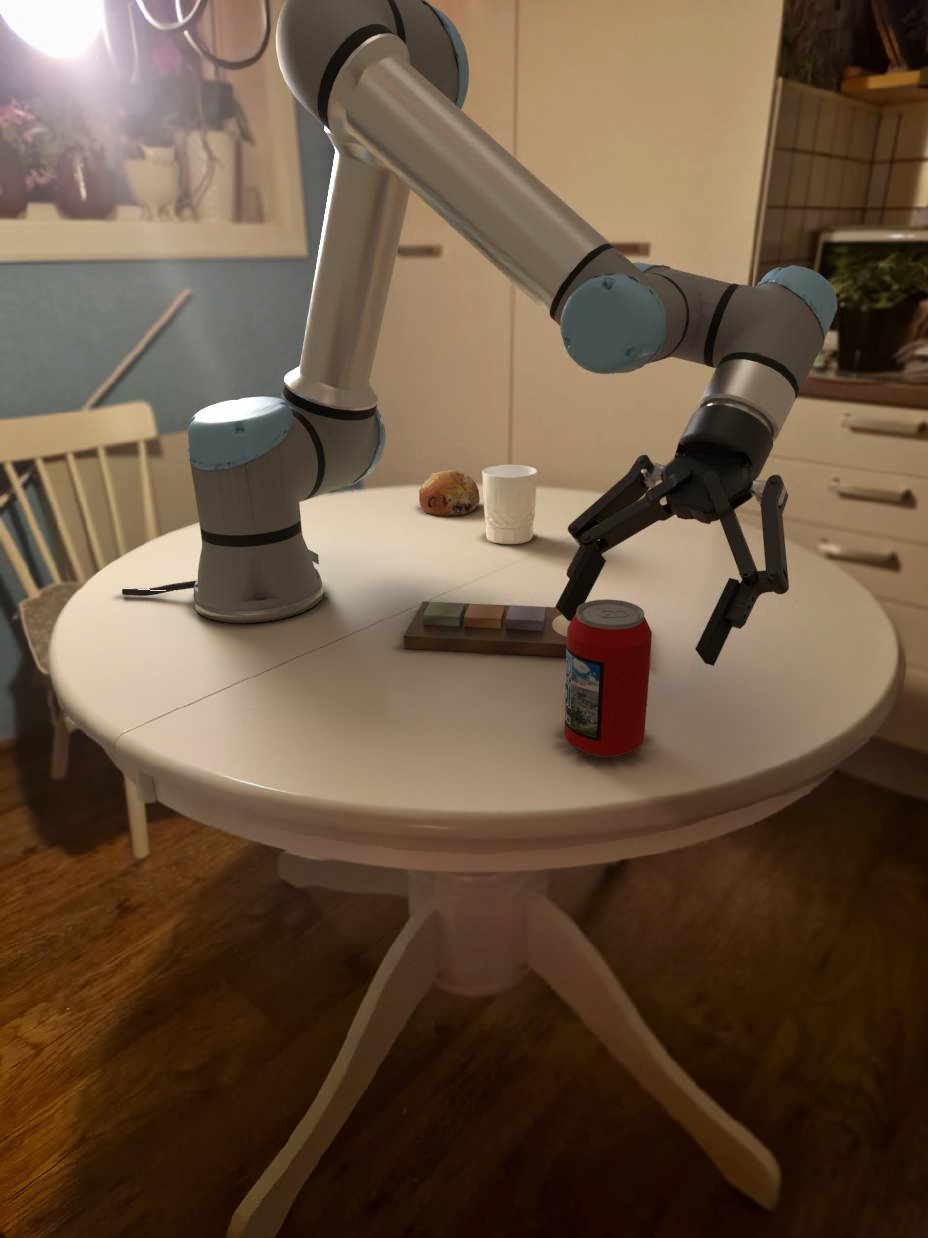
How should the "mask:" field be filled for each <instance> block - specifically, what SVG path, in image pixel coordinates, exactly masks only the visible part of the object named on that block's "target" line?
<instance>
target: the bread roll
mask: <svg viewBox="0 0 928 1238" xmlns="http://www.w3.org/2000/svg"><path fill="white" fill-rule="evenodd" d="M480 499H481V497H480V491H479V487H478V485H477V483H476V481H475V480H474V479H473V478H472V477H470V476H469V474H465V473H464V472H462V471H458V470H457V469H456V470H455V469H445V470H443V471H438V472H432V473H431V474H430V476H429V478H427V479H426V480H425V481H424V483H423V484H422V485H421V486H420V487H419V490H418V502H419V505H420V506H419V507H420V509H421V510H422V511H423V512H425V513H426V514H430V515H433V516H440V517H441V516H442V517H443V516H445V517H446V516H460V515H467V514H469V513H472V512H473V511H474V510H475V509H476V508H477V506H478V505H479V504H480Z"/></svg>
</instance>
